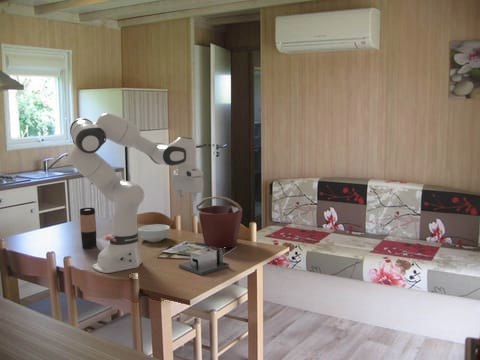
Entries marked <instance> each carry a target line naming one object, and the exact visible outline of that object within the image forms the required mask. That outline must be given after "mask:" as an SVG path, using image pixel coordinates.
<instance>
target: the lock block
mask: <svg viewBox="0 0 480 360" xmlns="http://www.w3.org/2000/svg"><path fill="white" fill-rule="evenodd" d="M189 254H190V261H191V265H192V261H194V260H198V268H202V267H206V266H209V265H212V264H216V263H217V250H214V249H210V248H208V247H205V248H202V249H198V250H194V251H190V253H189Z"/></svg>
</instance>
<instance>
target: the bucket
mask: <svg viewBox="0 0 480 360" xmlns="http://www.w3.org/2000/svg"><path fill="white" fill-rule="evenodd" d="M212 199H213V200H214V199H215V200H216V199H218V200H224V201H226V202H229V203H230V204H232V205H210V206H204V207H200V206H202V205H203V204H204V203H205V201H208V200H212ZM195 206H196V210H197V211H198V213H199V214H198V216H199V217H198V218H199V222H200V227H201V232H202V237H203V242H204V247H205V246H208V247H210V246H213V247H216V248H224V247H232V246H233V247H235V246H236V245H237V244H238V239H239V234H240V227H241V222H242V218H243V217H242V216H243V208H242V206H241V205H240V204H239V203H238V202H236V201H235V200H233V199H230V198H229V197H226V196H225V197H224V196H211V197H205V198H203V199H201V201H200V202H199V203H197V204H196V205H195ZM234 245H235V246H234ZM208 247H207V248H208ZM233 247H232V248H233Z"/></svg>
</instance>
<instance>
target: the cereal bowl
mask: <svg viewBox="0 0 480 360" xmlns="http://www.w3.org/2000/svg"><path fill="white" fill-rule="evenodd" d="M137 232H138V237H140V239H142V240H145V241H147V242H148V243H149V242H150V243H157V242H162V240H164V239H166V238H167V237H169V236H170V233H171V227H170V225H167V224H161V223H160V224H158V223H157V224H156V223H154V224H147V225H142V226H140V227H137Z"/></svg>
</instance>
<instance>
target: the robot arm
mask: <svg viewBox="0 0 480 360" xmlns="http://www.w3.org/2000/svg"><path fill="white" fill-rule="evenodd" d="M69 133H70V137H71V140H72V143H73V144H74V145H75V147H74V149H73V150H72V151H71V152H70V155H69V161H70V163H71V164H72V166H73V167H74V169H76V170H77V171H78V172H79V173H80V174H81V175H82V176H83V177H84V178H85V179H87V180H88V181H89V182H90V183H92V184H93V185H94V186H95V187H96V188H97V189H98V190H99V191H100V192H101V194H103V195H104V197H105V198H106V199H107V200H109V201H110V202H112V203H115V204H116V207H115V208H116V209H115V212H114V214H113V215H112V218H111V220H112V221H111V223H112V234H111V236H109V235H105V238H104V239H105V240H106V241H109V243H108V244H107V245H106V246H105V247H104V248H103V249H102V250H100V252H99V253H98V256H97V263H94V264H92V269H93V270H95V271H97V272H100V273H105V274H110V273H111V274H112V273H115V272H121V271H125V270H131V269H136V268H139V267H140V265H141V264H142V263H143V260H142V257H141V254H140V249H139V233H138V220H137V219H138V217H137V216H138V212H139V207H140V205H141V204H142V202H143V201H144V198H145V192H144V189H143V188H142V187H141V186H140V185H139V184H137V183H135V182H133V181H128V180H125V179H123V178H121V177H120V175H118V173H117V172H116V171H115V168H114V167H113V166H112V165H111V164H109V163H108V162H107V161H106V160H105V159H104V158H103V157H101V156H100V155H99V154H98V153H97V152H98V151H99V150H100V149H101V147H102V146H103V145H104V144H105V143H106V142H107V140H108V141H111V142H113V143H115V144H117V145H120V146H122V147H126V148H134V149H136V150H137V151H140V152H142V153H143V154H146V155H147V156H148V157H149V158H150V160H152V162H153V163H155V164H157V165H164V166H169V167H173V166H176V169H174V170H173V172H172V177H171V188H172V189H175V190H176V192H177V194H178V199H181V200H183V199H184V194H183V191H184V192H188V193H189V192H190V193H191V195H192V196H191V197H190V202H196V199H197V196H198V194H199V193H200V194H201V193H202V192H203V191H204V179H203V176H204V171H202V170H201V169H199V167H197V163H196V157H197V155H196V153H197V152H196V144H195V140H194V139H193V138H191V137H186V136H179V137H177V139H176V140H174V141H172V142H171V143H169V144H167V143H163V142H153V141H151V140H149V139H148V138H145V137H143V136H142V135H141V131H140V128H139V127H138V126H137V125H136V124H134V123H133V122H131V121H129V120H127V119H125V118H123V117H121V116H118V115H115V114H112V113H108V112H106V113H102V114H101V115H100V116H99V117H98V118H97V120H96V121H95V122H92V121H91V120H90V119H88V118H84V117H82V118H81V117H80V118H77V119H75V120H73V121H72V122H71V125H70V129H69Z"/></svg>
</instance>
